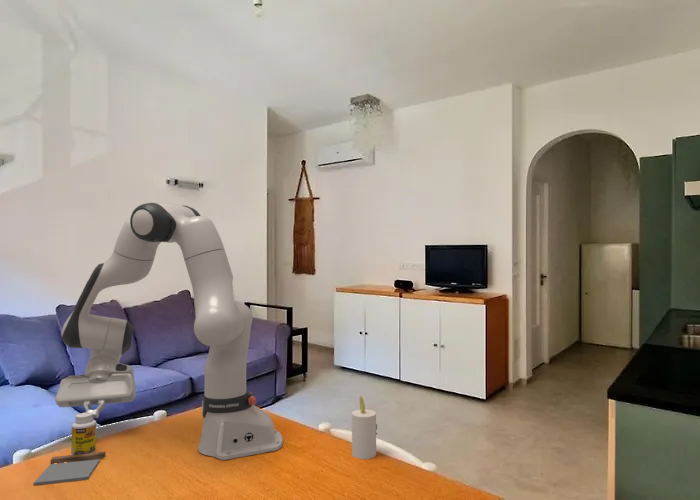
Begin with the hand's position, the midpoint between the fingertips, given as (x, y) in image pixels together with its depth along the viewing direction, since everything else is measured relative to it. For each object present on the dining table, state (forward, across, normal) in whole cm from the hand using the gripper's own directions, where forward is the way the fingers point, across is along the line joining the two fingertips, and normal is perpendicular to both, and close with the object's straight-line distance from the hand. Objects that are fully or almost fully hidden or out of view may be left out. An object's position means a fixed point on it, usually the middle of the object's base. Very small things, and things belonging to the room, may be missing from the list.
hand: (91, 417), depth 126 cm
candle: (+24, +71, -13) cm, 76 cm away
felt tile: (+18, 0, -7) cm, 19 cm away
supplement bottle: (+10, 0, +1) cm, 10 cm away
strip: (+13, 0, -2) cm, 13 cm away
